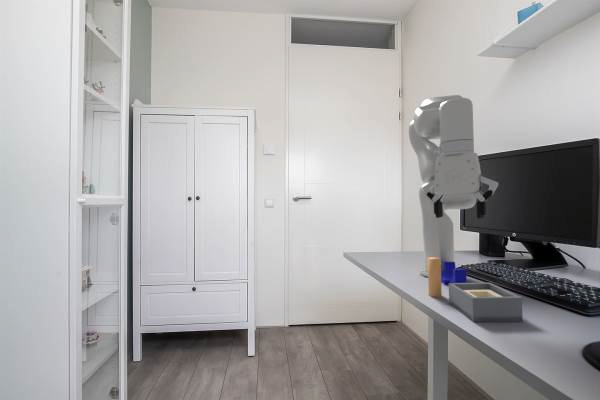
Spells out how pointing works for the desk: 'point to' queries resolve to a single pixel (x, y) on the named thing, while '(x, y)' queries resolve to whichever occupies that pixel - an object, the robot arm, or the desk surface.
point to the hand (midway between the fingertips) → (459, 217)
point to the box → (485, 302)
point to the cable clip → (452, 274)
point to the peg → (434, 277)
